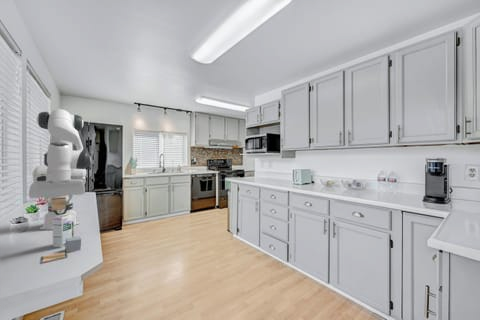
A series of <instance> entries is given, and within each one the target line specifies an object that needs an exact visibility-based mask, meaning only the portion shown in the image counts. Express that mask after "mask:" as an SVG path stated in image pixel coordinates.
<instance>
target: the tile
mask: <svg viewBox="0 0 480 320" xmlns="http://www.w3.org/2000/svg"><path fill="white" fill-rule="evenodd" d="M64 259H68V253H66V250H64V251H60V252H56V253H50V254H46V255H42V256H41V257H40V262H39V264H40V265H43V264H46V263H47V264H48V263H51V262H55V261H59V260H60V261H61V260H64Z"/></svg>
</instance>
